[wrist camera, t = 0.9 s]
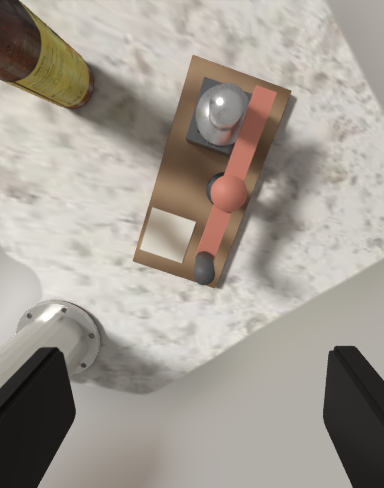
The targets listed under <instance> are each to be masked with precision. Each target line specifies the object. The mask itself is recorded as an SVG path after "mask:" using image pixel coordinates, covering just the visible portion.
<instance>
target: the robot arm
mask: <svg viewBox="0 0 384 488" xmlns="http://www.w3.org/2000/svg"><path fill="white" fill-rule="evenodd" d="M99 349H100V334H99V331H98V328H97V326H96V324H95V323H94V321H93V320H92V318H91V317H90V316H89V315H88V314H87V313H86V312H84V311H83V310H82V309H81V308H79V307H77V306H75V305H73V304H70V303H68V302H64V301H56V300H50V301H44V302H41V303H39V304H36V305H35V306H33V307H32V308H30V309H29V310H28V311H26V312H25V313H24V314H23V316H22V317H21V318H20V321H19V323H18V326H17V331H16V335H14V336H13V337H12V338H11V339H10V340H8V341H7V342H6V343H5V344H4V345H2V346H1V347H0V488H37V487H38V485H39V483H40V481H41V480H42V478H43V476H44V474H45V472H46V471H47V469H48V467H49V465H50V463H51V461H52V460H53V458H54V456H55V454H56V452H57V451H58V449H59V447H60V445H61V443H62V441H63V439H64V438H65V436H66V434H67V432H68V430H69V429H70V427H71V425H72V423H73V421H74V418H75V414H76V409H75V404H74V399H73V395H72V390H71V386H70V381H69V380H70V378H71V377H72V375H75V374H78V373H81V372H83V371H84V370H86V369H87V368H88V367H89V366H90V365H91V364H92V363H93V362H94V360H95V358H96V357H97V355H98V353H99ZM323 419H324V423H325V426H326V429H327V431H328V433H329V435H330V438H331V440H332V442H333V444H334V446H335V449H336V451H337V453H338V455H339V458H340V460H341V462H342V464H343V467H344V469H345V471H346V473H347V475H348V478H349V479H350V482H351V484H352V486H353V488H384V380H383V379H382V378H381V377H380V376H379V374H378V373H377V372H376V371H375V370H374V368H373V367H372V366H371V365H370V364H369V362H368V361H367V360H366V359H365V357H364V356H363V355H362V354H361V353H360V351H359V350H358V349H357V348H356V347H355V346H335V348H334V351H329V355H328V366H327V377H326V387H325V398H324V409H323Z"/></svg>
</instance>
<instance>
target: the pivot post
mask: <svg viewBox="0 0 384 488" xmlns="http://www.w3.org/2000/svg"><path fill="white" fill-rule="evenodd" d="M224 173H225V172H221V173H218V174H215V175H214V176H213V177H212V178H211V179H210V180H209V182H208V184H207V188H206V193H207V197H208V199H209V201H210V202H211V203H212V204H214V203H213V202H212V199H211V194H210V192H211V187H212V185H213V183H214V182H215V181H216V180H217V179H218V178H220V177H222V176H224Z"/></svg>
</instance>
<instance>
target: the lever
mask: <svg viewBox="0 0 384 488" xmlns="http://www.w3.org/2000/svg"><path fill="white" fill-rule="evenodd" d="M276 94H277V92H274V91H271V90H269V89H266V88H263V87H260V86H258V85H256V87H255V89H254V92H253V95H252V97H251V100H250V103H249V106H248V109H247V111H246V114H245V117H244V120H243V123H242V126H241V128H240V131H239V134H238V137H237V140H236V142H235V145H234V148H233V151H232V154H231V157H230V159H229V162H228V165H227V168H226V171H225V173H224V176H222V177H220V178H218V179H217V180H216V181H215V182H214V183H213V185H212V187H211V192H210V194H211V199H212V202H213V203H214V204H213V207H212V210H211V213H210V216H209V219H208V221H207V224H206V227H205V230H204V233H203V235H202V238H201V241H200V244H199V247H198V250H197V252H196V257H195V264H194V273H193V277H194V279H195V281H196V282H197V283H198V284H200V285H208V284H210V283H212V282H213V280H214V278H215V269H214V259H215V256H216V253H217V251H218V248H219V245H220V243H221V240H222V237H223V235H224V232H225V229H226V227H227V224H228V221H229V219H230V216H231V214H232V211H235V210H237V209H239V208H240V207H241V206H242V205H243V204H244V203H245V201H246V198H247V188H246V185H245V183H244V179H245V176H246V174H247V171H248V168H249V166H250V163H251V160H252V158H253V155H254V152H255V150H256V147H257V144H258V142H259V139H260V136H261V134H262V131H263V128H264V126H265V123H266V120H267V118H268V115H269V112H270V110H271V107H272V104H273V102H274V99H275V96H276Z"/></svg>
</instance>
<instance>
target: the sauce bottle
mask: <svg viewBox="0 0 384 488" xmlns="http://www.w3.org/2000/svg"><path fill="white" fill-rule="evenodd" d="M0 80H2V81H4V82H6V83H8V84H11V85H13V86H15V87H17V88H20V89H22V90H24V91H26V92H29V93H31V94H33V95H35V96H38V97H40V98H42V99H44V100H47V101H49V102H51V103H53V104H56V105H58V106H61V107H66V108H71V109H74V108H78V107H81V106H83V104H85V103H86V102H87V101H88V100H89V99H90V97H91V95H92V93H93V87H94V80H93V75H92V72H91V70H90V68H89V67H88V65H87V63H86V62H85V61H84V60H83V58H82V57H81V55H80V54H78V53H77V52H76V51H75V50H74V49H73V48H72V47H71V46H69V45H68V44H67V43H66V42H65V41H64V40H63V39H62V38H60V37H59V36H58V35H57V34H56V33H55V32H54V31H53V30H52V29H51V28H49V27H48V26H47V25H46V24H45V23H44V22H43V21H42V20H41V19H40V18H38V17H37V16H36V15H35V14H34V13H33V12H31V11H30V10H29V9H28V8H27V7H26V6H25V5H24V4H23V3H22V2H20V1H19V0H0Z"/></svg>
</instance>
